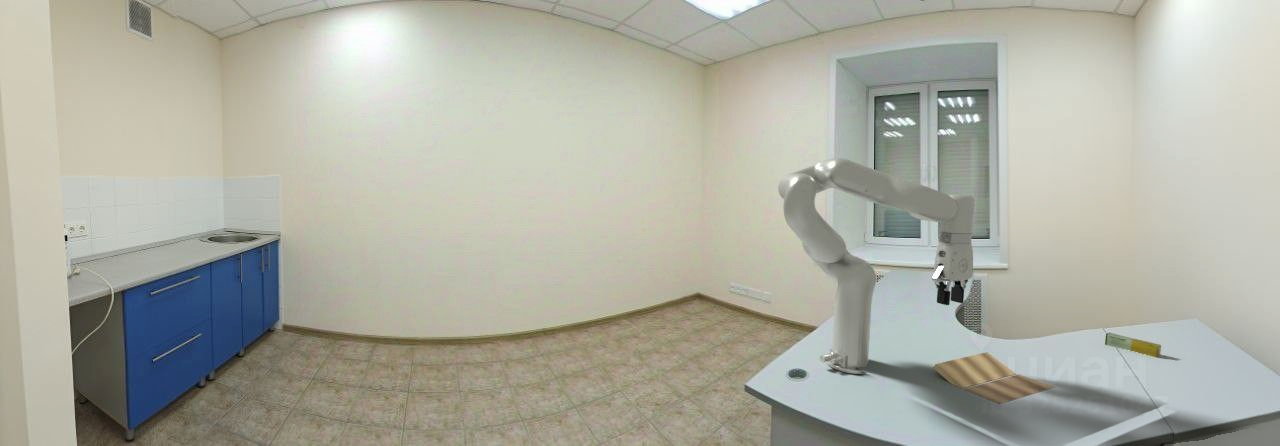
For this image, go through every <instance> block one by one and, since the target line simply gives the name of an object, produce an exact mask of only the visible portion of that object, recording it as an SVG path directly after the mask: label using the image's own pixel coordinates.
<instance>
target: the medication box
mask: <svg viewBox="0 0 1280 446" xmlns="http://www.w3.org/2000/svg"><path fill="white" fill-rule="evenodd" d="M1104 345H1105V346H1109V347H1113V348H1116V349H1117V348H1118V349H1120V348H1121V349H1122V350H1124V349H1126V350H1125V351H1128V350H1130V351H1129V352H1132V351H1134V353H1136V352H1138V353H1137V354H1140V353H1141V355H1144V354H1146V355H1145V356H1148V355H1149V357H1152V358H1153V357H1154V358H1160V357H1161V351H1162V344H1159V343H1155V342H1151V341H1147V340H1143V339H1138V338H1134V337H1129V336H1125V335H1121V334H1117V333H1113V332H1107V333H1106V334H1105V342H1104Z"/></svg>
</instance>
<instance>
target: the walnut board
mask: <svg viewBox="0 0 1280 446" xmlns="http://www.w3.org/2000/svg"><path fill="white" fill-rule="evenodd" d="M1051 389H1055V386H1053V385H1051V384H1048V383H1045V382H1041V381H1040V380H1036V379H1034V378H1031V377H1028V376H1025V375H1022V374H1019V373H1018V374H1014V375H1010V376H1007V377H1003V378H999V379H995V380H992V381H988V382H984V383H981V384H977V385H973V386H969V387H966V388H963V390H965V391H966V392H969V393H972V394H974V395H976V396H979V397H981V398H983V399H985V400H988V401H990V402H991V401H992V402H993V403H996V404H998V405H1002V404H1004V403H1007V402H1011V401H1015V400H1017V399H1021V398H1023V397H1028V396H1032V395H1034V394H1037V393H1040V392H1044V391H1047V390H1051Z"/></svg>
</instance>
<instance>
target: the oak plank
mask: <svg viewBox="0 0 1280 446" xmlns="http://www.w3.org/2000/svg"><path fill="white" fill-rule="evenodd" d="M932 368H933V369H934V370H935V371H936V372H937V373H938V374H939V375H941V377H942V378H944V379H945V380H946V381H948V383H950V384H952V385H954V386H956V387H959V388H962V389H966V388H970V387H973V386H977V385H981V384H984V383H988V382H992V381H996V380H999V379H1003V378H1007V377H1010V376H1014V375H1016V372H1015V371H1013V370H1012V369H1010V368H1009V367H1008V366H1007V365H1005V364H1004V363H1002V362H1001V361H1000V360H998V358H996V357H995V356H993V355H992V354H991V353H989V352H986V351H985V352H981V353H978V354H973V355H969V356H965V357H960V358H955V359H952V360H948V361H942V362H937V363H935V364H934V365H933V367H932Z"/></svg>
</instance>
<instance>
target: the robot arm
mask: <svg viewBox="0 0 1280 446" xmlns="http://www.w3.org/2000/svg"><path fill="white" fill-rule="evenodd" d="M777 189H778V191H777V192H778V193H779V195H780V197H781V199H783V205H782V206H783V215H784V220H785V222H786V224H787V225H788V226H789V228H790V229H791V231H792V232H793V233H794V234H795V235H796V237H798V239H799V240H800V241H801V242H802V243H801V245H802V248H803V250H804V252H805V253H806V255H807V256H808V257H809V258H810V259H811V261H813V262H814V263H815V264H816V266H818V267H819V269H820V270H821V271H822V272H823V273H824V274H825V275H827V277H829V279H831V280H832V281H833V282H834V283H836V284H837V289H836V293H835V297H834V305H833V306H834V307H833V328H832V329H833V330H832V331H833V332H832V348H831V349H829V352H828V353H827V354H822V355H821V354H820V355H819V360H820V362H821V363H826V364H827V365H828V366H829V367H831V368H832V369H835V370H837V371H840V372H843V373H846V374H847V373H848V374H854V375H866V374H868V373H867V372H865V371H864V370H862V369H859V368H865V367H867V366H868V365H869V357H870V356H869V353H870V336H871V321H872V319H871V317H872V304H873V303H872V302H873V296H874V292H875V287H876V283H877V282H876V281H877V275H876V271H875V269H874V267H873V266H872V264H870V263H869V262H868V261H866V260H865V259H863V258H860V257H858V256H856V255H853V254H851V252H850V251H848V249H847V245H846V242H845V240H844V239H843V237H842V236H841V235H840V234H839V233H838V232H837V231H836V230H835V229H834V228H833V227H832V226H831V225H830V224H829V223H828V222H827V221H826V220H825V219H824V218H823V216H822V215H821V214H820V213H819V212H818V211H817V209H816V205H815V199H816V196H817V194H818V193H819V194H820V193H821V192H824V191H826V190H828V189H836V190H839V191H842V192H844V193H846V194H850V195H852V196H854V197H858V198H860V199H862V200H865V201H867V202H870V203H873V204H877V205H879V206H880V205H881V206H885V207H892V208H896V209H899V210H904V211H907V213H908V214H909V215H910V216H911V217H912V218H915V219H917V220H923V221H929V222H933V223H939V226H938V238H937V239H938V240H937V241H938V242H937V243H938V244H937V249H936V252H935V257H934V268H933V276H932V277H931V280H932V282H933V283H934V284H935V286H936V287H935V288H936V290H937V293H936V303H937V304H940V305H944V306H950V302H955V303H959V304H963V303H964V298H965V290H966V288H967V286H966V285H967V283H968V281H969V280H970V279H971V278H973V276H974V275H973V274H974V273H973V272H974V252H973V245H972V238H973V227H974V226H973V223H974V211H975V198H974V196H972V195H970V194H960V193H959V194H958V193H954V194H953V193H951V194H950V193H948V194H947V193H944V192H943V191H940V190H936V189H934V188H932V187H929V186H925V185H922V184H920V183H915V182H912V181H909V180H907V179H903V178H901V177H897V176H895V175H891V174H888V173H885V172H883V171H880V170H876V169H873V168H871V167H868V166H867V165H863V164H861V163H858V162H855V161H852V160H850V159H848V158H843V157H836V158H829V159H825V160H822V161H819V162H817V163H815V164H812V165H810V166H807V167H804V168H802V169H800V170H797V171H794V172H791V173H789V174H786V175H785V176H784V177H782V179H780V181H779V182H778V187H777ZM944 282H945V283H944ZM951 283H952V285H953V286H951ZM950 287H951V288H950Z"/></svg>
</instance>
